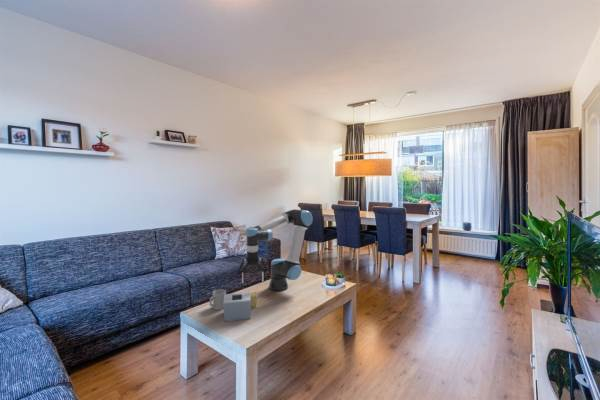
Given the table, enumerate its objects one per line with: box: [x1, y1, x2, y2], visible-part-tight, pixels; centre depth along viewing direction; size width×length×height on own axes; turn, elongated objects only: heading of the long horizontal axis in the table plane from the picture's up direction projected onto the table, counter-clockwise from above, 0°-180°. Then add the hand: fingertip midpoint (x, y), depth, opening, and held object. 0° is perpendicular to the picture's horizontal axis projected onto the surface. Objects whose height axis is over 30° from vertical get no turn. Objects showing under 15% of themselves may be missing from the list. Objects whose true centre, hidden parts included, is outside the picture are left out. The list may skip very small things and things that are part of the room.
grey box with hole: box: [223, 291, 252, 322], centre depth 186 cm, size 16×13×12 cm
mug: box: [209, 288, 227, 311], centre depth 197 cm, size 12×8×11 cm
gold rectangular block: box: [249, 292, 258, 309], centre depth 201 cm, size 4×6×8 cm, turn 13°
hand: (252, 281), depth 200 cm, fingers open, 13 cm apart
